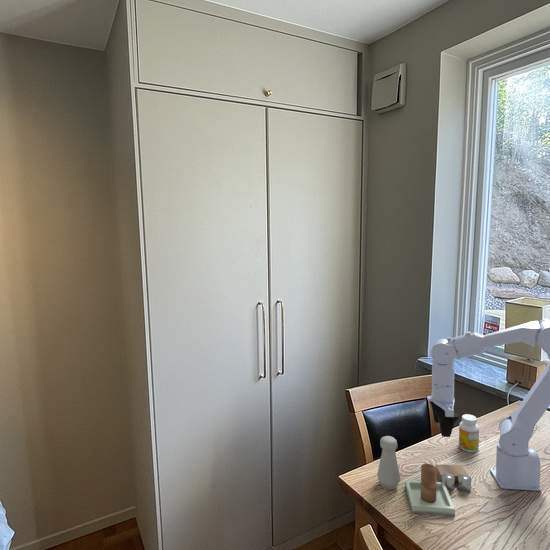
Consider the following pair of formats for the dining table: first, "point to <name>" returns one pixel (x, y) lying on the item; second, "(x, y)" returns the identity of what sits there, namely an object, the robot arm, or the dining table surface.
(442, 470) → the wooden block
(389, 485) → the salt shaker
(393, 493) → the dining table surface
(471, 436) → the supplement bottle
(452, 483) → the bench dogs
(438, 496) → the tray
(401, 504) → the dining table surface
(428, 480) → the dowel
